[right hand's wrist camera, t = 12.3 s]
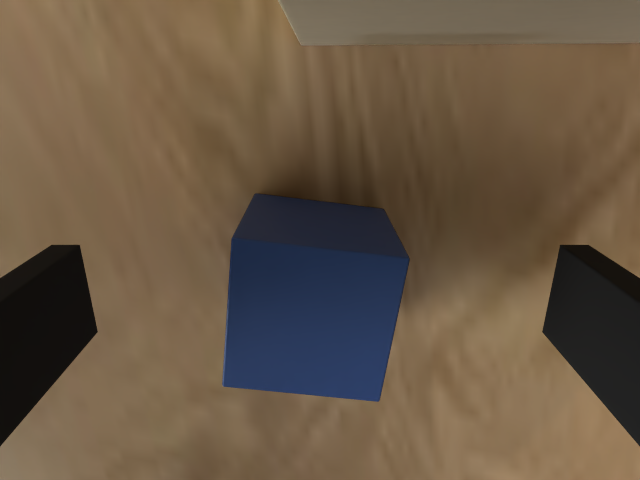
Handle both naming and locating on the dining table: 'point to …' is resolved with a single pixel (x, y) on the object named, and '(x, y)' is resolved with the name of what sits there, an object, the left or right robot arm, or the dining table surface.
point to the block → (312, 298)
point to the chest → (462, 21)
